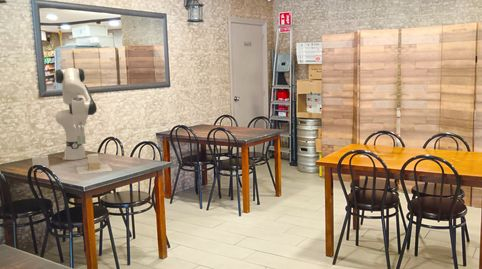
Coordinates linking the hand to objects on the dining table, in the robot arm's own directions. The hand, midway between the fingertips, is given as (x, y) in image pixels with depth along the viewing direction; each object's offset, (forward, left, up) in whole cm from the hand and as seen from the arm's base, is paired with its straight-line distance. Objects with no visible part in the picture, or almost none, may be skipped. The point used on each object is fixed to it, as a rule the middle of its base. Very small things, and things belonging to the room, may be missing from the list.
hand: (81, 141), depth 330 cm
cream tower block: (0, +7, -15) cm, 17 cm away
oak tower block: (0, +7, -20) cm, 22 cm away
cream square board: (0, +7, -21) cm, 22 cm away
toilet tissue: (-18, -27, -21) cm, 39 cm away
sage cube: (0, 0, -2) cm, 2 cm away
